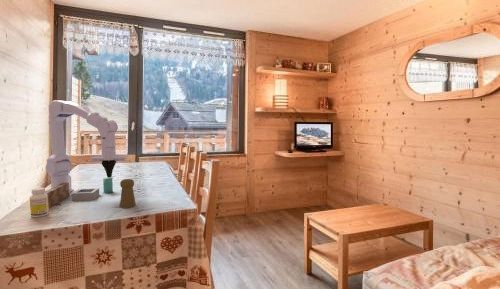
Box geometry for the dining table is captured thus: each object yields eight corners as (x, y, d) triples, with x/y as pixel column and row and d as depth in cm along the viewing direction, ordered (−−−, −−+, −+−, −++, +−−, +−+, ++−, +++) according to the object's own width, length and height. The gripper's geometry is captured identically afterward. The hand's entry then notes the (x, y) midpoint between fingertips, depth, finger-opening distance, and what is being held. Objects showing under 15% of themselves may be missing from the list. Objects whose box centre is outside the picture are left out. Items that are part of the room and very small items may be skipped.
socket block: (79, 196, 135) (78, 189, 135) (99, 195, 137) (99, 188, 136) (72, 201, 127) (71, 193, 126) (93, 200, 128) (93, 192, 128)
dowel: (104, 191, 143) (104, 177, 143) (113, 191, 144) (113, 177, 144) (102, 193, 139) (102, 178, 139) (111, 193, 140) (111, 178, 140)
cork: (130, 208, 115) (129, 181, 114) (116, 207, 116) (115, 180, 115) (138, 204, 121) (138, 178, 120) (125, 203, 122) (125, 177, 121)
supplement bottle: (36, 213, 109) (35, 187, 108) (52, 212, 109) (50, 187, 109) (27, 217, 104) (25, 190, 103) (43, 217, 104) (41, 190, 103)
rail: (63, 195, 135) (62, 182, 135) (69, 195, 136) (68, 182, 135) (39, 209, 114) (39, 194, 113) (47, 209, 114) (46, 193, 114)
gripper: (88, 148, 127) (89, 179, 128) (123, 147, 130) (124, 178, 131) (93, 147, 133) (94, 176, 134) (126, 146, 136) (127, 175, 137)
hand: (109, 177), depth 133 cm, fingers closed
